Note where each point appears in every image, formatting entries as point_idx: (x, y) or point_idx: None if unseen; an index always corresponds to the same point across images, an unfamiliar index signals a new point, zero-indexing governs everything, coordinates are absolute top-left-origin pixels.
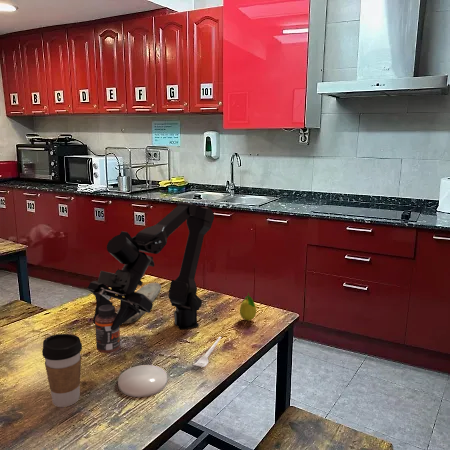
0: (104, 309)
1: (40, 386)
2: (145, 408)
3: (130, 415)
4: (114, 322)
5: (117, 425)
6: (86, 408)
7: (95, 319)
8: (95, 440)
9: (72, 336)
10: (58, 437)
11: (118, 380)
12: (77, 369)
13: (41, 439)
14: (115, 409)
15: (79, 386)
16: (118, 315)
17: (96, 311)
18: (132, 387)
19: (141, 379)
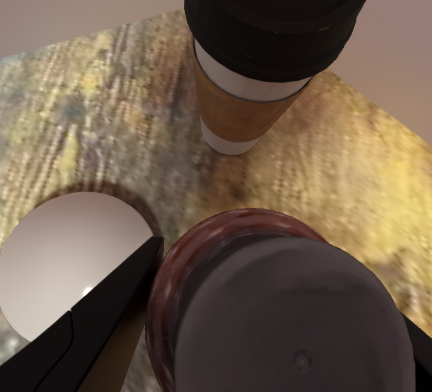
0: (275, 279)
1: (321, 142)
2: (21, 168)
3: (46, 134)
4: (132, 264)
5: (58, 97)
6: (163, 118)
7: (316, 232)
8: (79, 49)
9: (285, 25)
10: (155, 34)
11: (144, 223)
12: (194, 68)
13: (181, 22)
14: (95, 138)
15: (205, 127)
16: (84, 324)
17: (412, 336)
18: (84, 210)
19: (79, 256)
